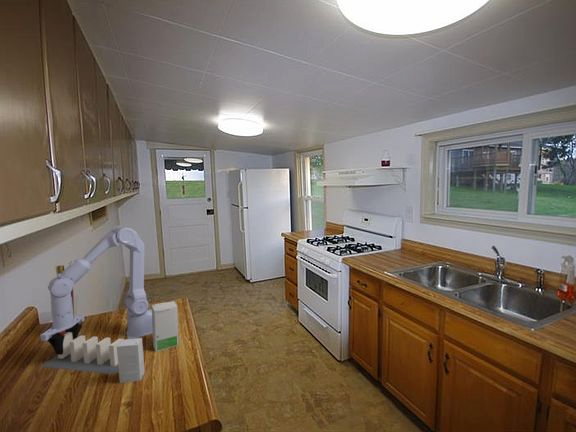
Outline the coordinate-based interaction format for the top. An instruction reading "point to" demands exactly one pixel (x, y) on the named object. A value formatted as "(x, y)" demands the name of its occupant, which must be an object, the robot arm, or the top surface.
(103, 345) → the domino
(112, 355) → the domino
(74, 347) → the domino
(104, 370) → the runner mat
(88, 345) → the domino
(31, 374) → the top surface
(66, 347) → the domino
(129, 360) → the skincare box
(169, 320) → the skincare box
